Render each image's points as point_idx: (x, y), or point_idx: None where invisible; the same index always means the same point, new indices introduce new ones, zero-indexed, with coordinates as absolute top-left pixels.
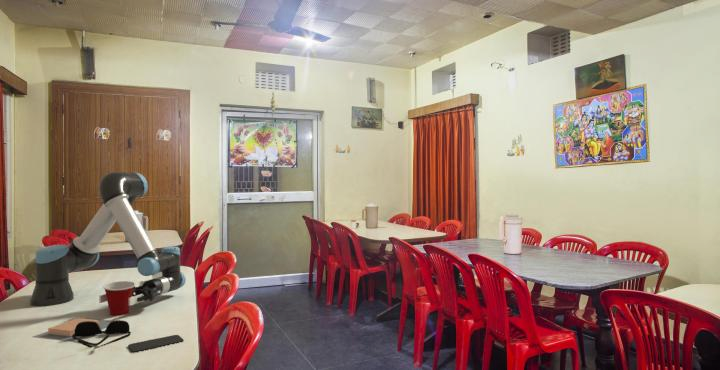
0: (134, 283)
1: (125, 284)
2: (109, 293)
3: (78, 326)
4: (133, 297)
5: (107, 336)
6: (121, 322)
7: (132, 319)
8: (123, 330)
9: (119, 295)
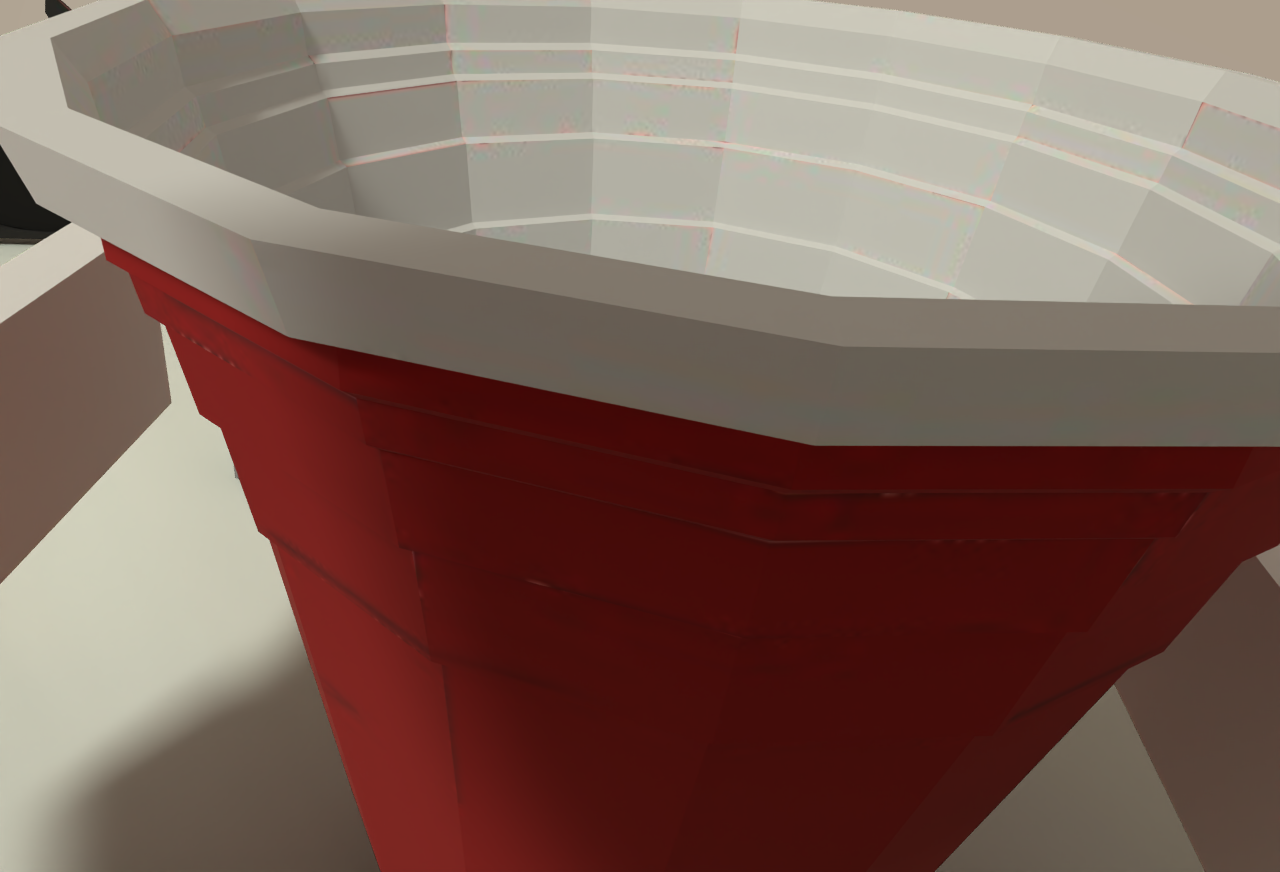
0: (133, 155)
1: (1112, 494)
2: (716, 145)
3: None
4: (12, 263)
5: (59, 10)
6: None
7: (118, 658)
8: (18, 179)
9: (460, 208)
